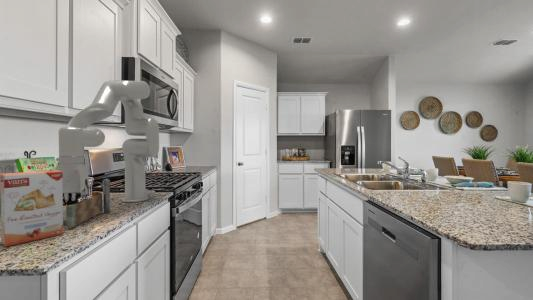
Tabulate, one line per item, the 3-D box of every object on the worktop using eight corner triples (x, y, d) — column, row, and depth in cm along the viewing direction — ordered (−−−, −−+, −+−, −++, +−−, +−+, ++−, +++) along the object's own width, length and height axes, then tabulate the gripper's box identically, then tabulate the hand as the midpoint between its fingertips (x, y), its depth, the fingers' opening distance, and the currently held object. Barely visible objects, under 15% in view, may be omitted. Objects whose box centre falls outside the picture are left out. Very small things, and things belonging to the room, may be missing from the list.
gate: (98, 211, 113) (98, 194, 113) (103, 211, 113) (103, 194, 113) (66, 227, 92) (66, 206, 92) (72, 226, 92) (71, 206, 92)
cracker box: (5, 248, 77) (3, 174, 76) (0, 243, 80) (-2, 173, 80) (64, 234, 88) (63, 170, 87) (58, 230, 91) (56, 169, 91)
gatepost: (109, 211, 116) (109, 178, 116) (111, 213, 114) (111, 178, 113) (101, 212, 114) (101, 178, 113) (103, 214, 112) (103, 179, 111)
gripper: (42, 161, 94) (43, 213, 95) (86, 161, 95) (86, 213, 95) (58, 160, 102) (59, 208, 102) (98, 160, 102) (99, 208, 103)
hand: (72, 210), depth 99 cm, fingers closed
